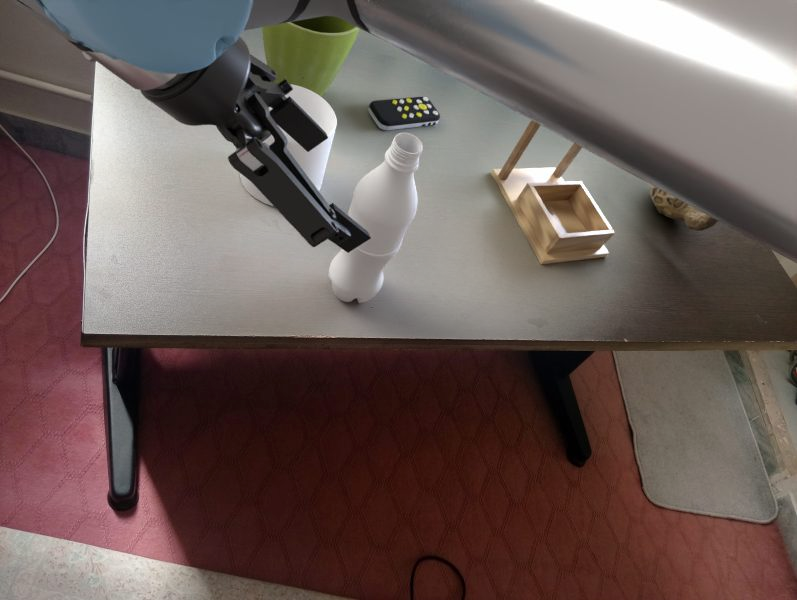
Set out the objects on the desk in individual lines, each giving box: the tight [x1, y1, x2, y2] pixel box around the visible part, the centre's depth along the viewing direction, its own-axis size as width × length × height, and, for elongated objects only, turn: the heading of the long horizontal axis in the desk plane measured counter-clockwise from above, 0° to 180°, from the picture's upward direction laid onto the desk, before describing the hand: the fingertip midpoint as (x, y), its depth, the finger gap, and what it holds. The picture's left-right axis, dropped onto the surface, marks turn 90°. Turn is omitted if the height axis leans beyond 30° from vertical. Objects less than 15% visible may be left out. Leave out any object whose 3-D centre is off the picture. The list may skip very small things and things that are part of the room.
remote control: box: [367, 96, 441, 131], centre depth 95 cm, size 6×13×2 cm, turn 118°
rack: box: [490, 119, 616, 265], centre depth 84 cm, size 20×15×21 cm
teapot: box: [649, 184, 719, 232], centre depth 98 cm, size 21×12×15 cm, turn 1°
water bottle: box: [328, 132, 424, 304], centre depth 62 cm, size 7×7×25 cm
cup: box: [239, 84, 338, 207], centre depth 74 cm, size 12×12×12 cm
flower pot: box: [261, 16, 361, 98], centre depth 84 cm, size 15×15×16 cm
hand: (336, 190), depth 54 cm, fingers open, 13 cm apart
